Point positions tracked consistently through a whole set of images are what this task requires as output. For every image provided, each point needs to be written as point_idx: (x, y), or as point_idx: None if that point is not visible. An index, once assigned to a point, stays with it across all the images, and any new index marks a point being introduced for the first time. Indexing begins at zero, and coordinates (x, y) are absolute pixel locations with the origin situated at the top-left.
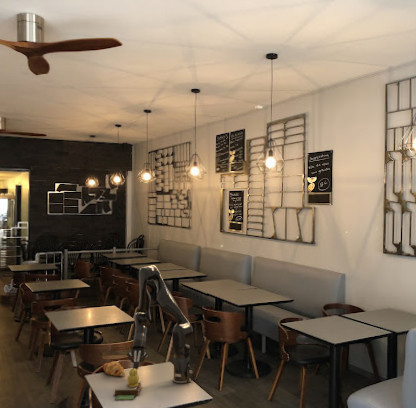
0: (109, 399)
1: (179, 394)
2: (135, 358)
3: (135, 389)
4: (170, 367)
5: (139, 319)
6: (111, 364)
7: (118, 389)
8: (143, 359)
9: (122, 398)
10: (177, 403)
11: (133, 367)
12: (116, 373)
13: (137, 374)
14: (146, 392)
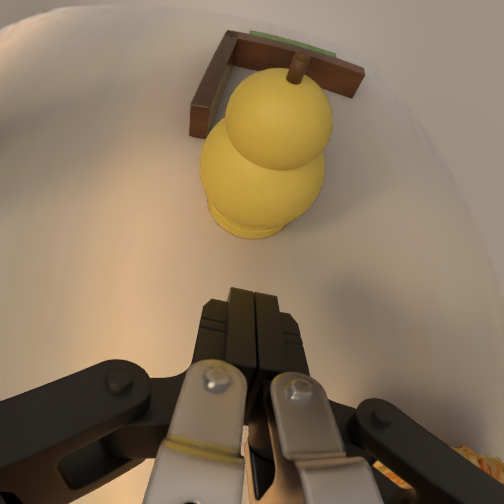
0: None
1: (23, 53)
2: (308, 455)
3: (241, 35)
4: None
5: None
6: None
7: (346, 67)
8: (63, 464)
9: (303, 45)
10: (77, 6)
11: (298, 60)
12: None
13: (222, 142)
14: (163, 74)
